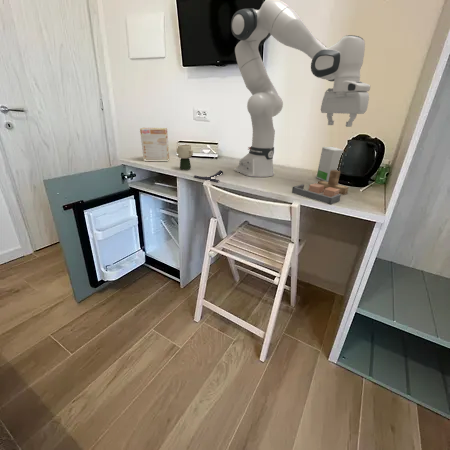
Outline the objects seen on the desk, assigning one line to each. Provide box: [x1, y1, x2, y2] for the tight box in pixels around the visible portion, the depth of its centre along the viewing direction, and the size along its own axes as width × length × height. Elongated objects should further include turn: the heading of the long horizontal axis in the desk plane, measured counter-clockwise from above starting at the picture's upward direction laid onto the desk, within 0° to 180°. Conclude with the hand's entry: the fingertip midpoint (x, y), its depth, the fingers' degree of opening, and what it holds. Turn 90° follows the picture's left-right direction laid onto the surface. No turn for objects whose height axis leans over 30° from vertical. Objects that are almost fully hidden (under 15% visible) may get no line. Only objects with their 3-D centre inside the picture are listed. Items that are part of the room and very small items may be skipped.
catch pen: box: [291, 183, 342, 205], centre depth 107 cm, size 18×7×2 cm, turn 41°
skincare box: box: [316, 146, 344, 182], centre depth 129 cm, size 8×7×16 cm
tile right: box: [322, 187, 340, 197], centre depth 109 cm, size 4×4×3 cm
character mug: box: [176, 144, 194, 170], centre depth 143 cm, size 11×7×13 cm, turn 59°
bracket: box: [193, 170, 224, 183], centre depth 132 cm, size 14×15×3 cm
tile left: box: [308, 183, 324, 194], centre depth 113 cm, size 4×4×3 cm
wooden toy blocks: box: [316, 170, 349, 196], centre depth 114 cm, size 13×3×9 cm, turn 41°
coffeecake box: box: [139, 127, 170, 160], centre depth 160 cm, size 15×7×20 cm, turn 91°
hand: (339, 125), depth 104 cm, fingers open, 8 cm apart
